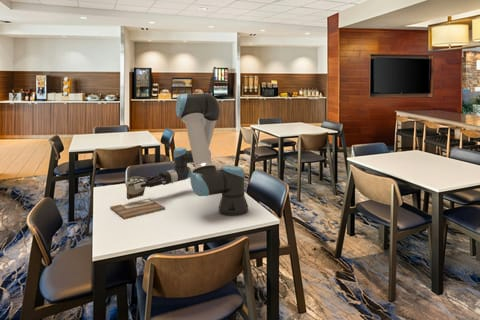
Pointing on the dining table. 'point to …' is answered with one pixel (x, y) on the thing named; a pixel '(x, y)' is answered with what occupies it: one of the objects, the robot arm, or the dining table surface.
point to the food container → (130, 187)
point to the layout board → (137, 208)
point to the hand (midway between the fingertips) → (132, 186)
